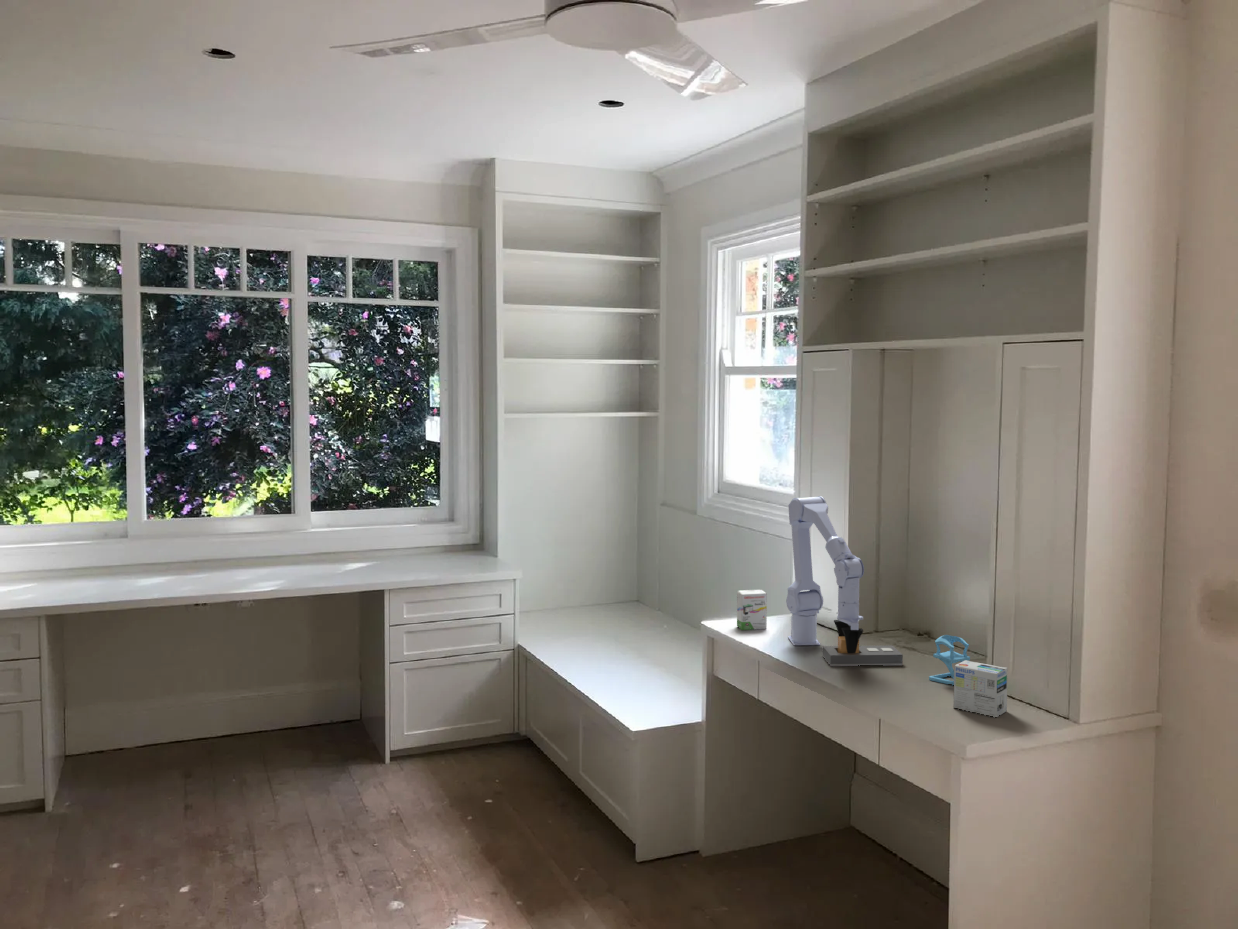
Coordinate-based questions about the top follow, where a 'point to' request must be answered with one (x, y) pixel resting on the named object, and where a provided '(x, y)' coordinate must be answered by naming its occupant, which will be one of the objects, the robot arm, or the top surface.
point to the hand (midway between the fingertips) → (847, 649)
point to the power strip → (863, 656)
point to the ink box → (751, 609)
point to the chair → (949, 657)
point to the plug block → (844, 645)
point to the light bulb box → (980, 688)
